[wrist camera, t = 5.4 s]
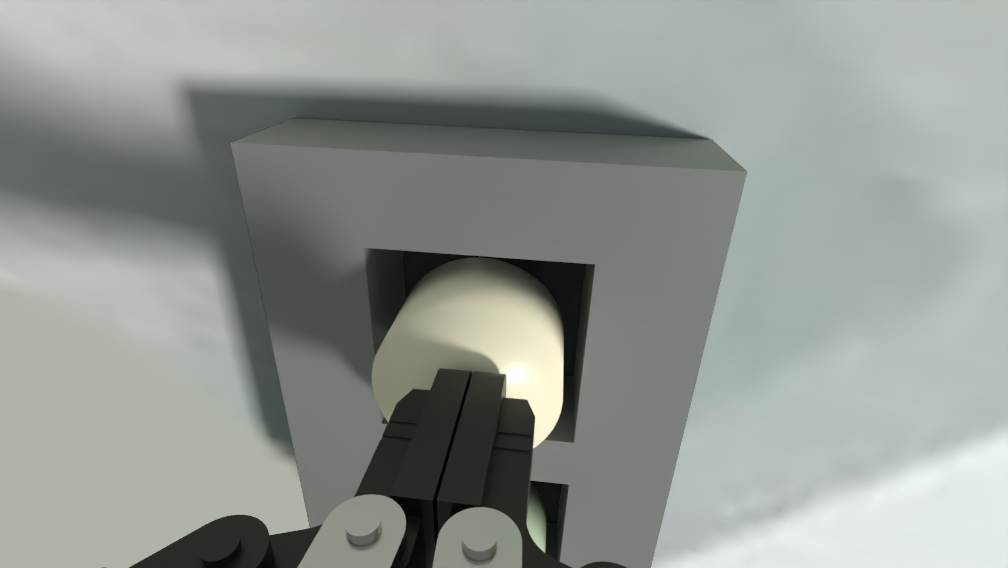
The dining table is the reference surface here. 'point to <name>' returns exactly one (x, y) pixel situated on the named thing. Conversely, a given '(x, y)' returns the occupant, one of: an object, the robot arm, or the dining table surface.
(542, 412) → the cream button
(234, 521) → the robot arm
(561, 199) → the button panel
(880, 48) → the dining table surface
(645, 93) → the dining table surface
